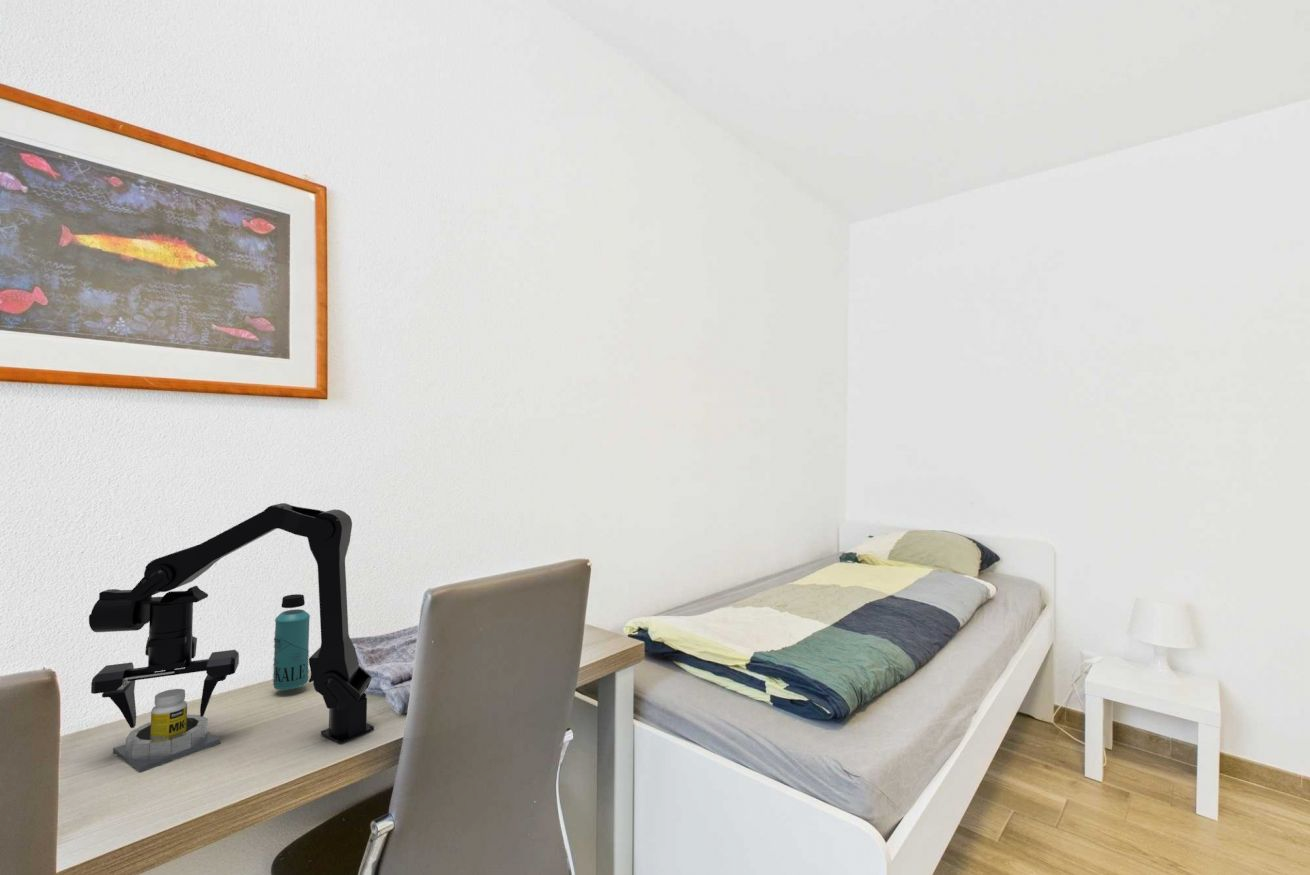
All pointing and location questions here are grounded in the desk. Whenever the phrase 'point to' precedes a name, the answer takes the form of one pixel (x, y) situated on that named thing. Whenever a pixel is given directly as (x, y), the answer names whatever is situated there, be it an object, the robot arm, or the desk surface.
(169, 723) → the supplement bottle
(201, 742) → the ring plate
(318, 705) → the desk surface
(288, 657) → the beverage bottle
